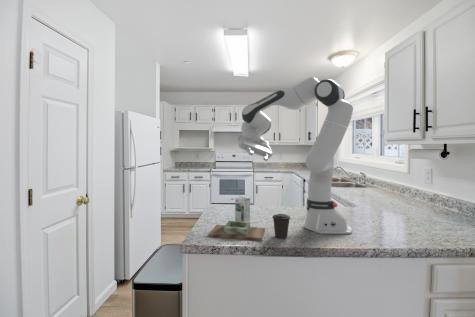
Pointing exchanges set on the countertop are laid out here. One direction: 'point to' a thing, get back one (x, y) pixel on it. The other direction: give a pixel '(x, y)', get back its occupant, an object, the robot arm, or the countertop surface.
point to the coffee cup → (281, 225)
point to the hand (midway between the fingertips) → (258, 157)
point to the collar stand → (237, 231)
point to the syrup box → (242, 209)
